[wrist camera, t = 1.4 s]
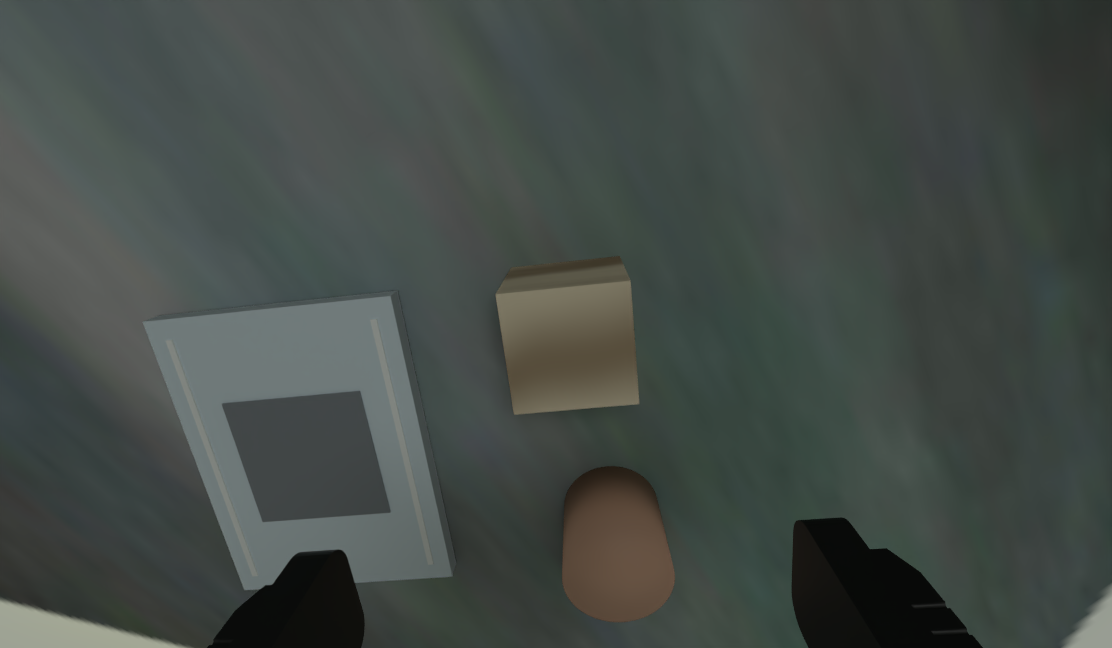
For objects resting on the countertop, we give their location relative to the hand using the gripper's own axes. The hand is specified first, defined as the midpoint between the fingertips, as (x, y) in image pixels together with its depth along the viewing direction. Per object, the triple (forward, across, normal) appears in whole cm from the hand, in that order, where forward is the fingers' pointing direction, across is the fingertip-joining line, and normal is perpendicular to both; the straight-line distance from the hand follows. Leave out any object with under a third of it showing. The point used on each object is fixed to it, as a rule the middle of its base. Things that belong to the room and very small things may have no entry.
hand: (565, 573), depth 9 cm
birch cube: (+16, 0, 0) cm, 16 cm away
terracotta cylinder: (+16, -1, +11) cm, 19 cm away
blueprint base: (+16, +14, +6) cm, 22 cm away
